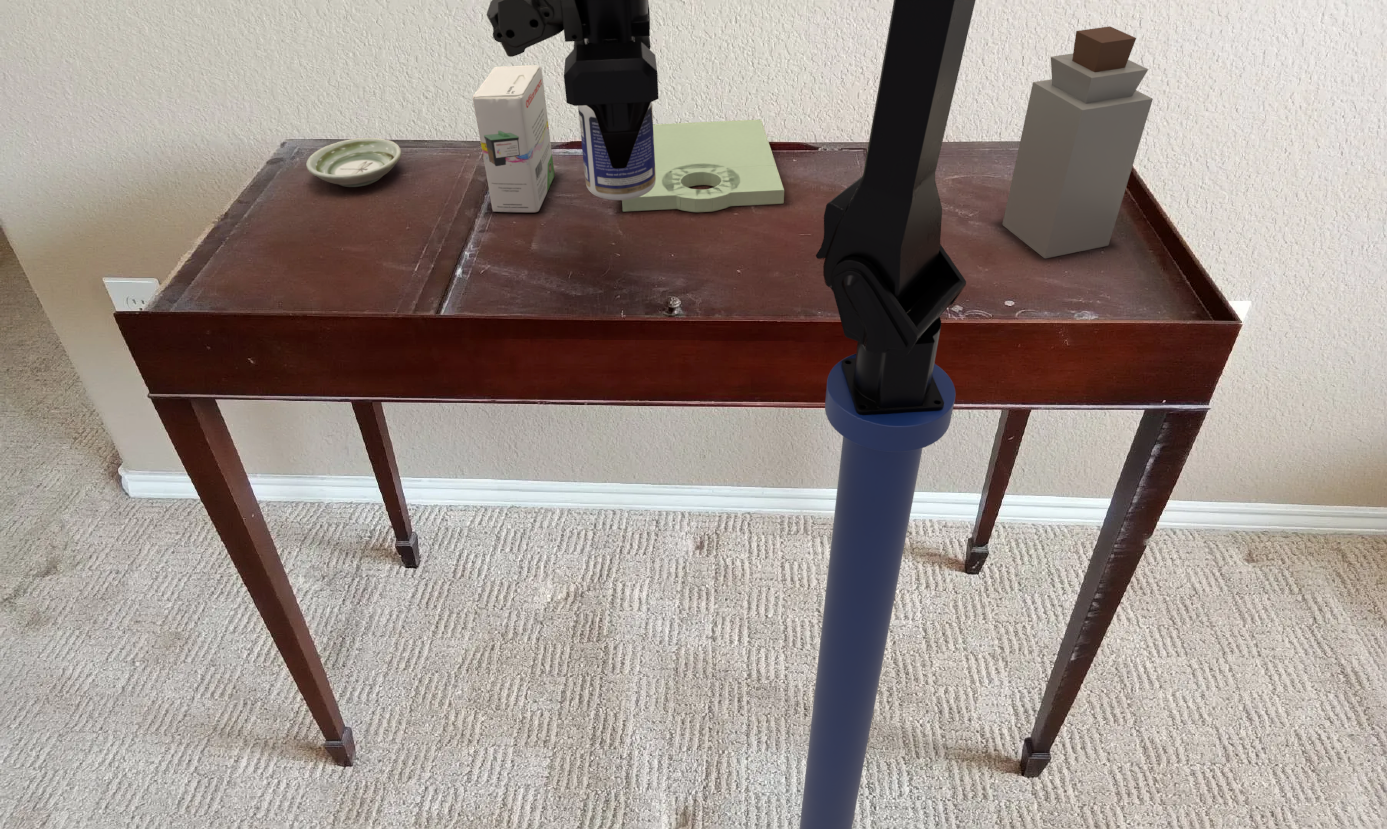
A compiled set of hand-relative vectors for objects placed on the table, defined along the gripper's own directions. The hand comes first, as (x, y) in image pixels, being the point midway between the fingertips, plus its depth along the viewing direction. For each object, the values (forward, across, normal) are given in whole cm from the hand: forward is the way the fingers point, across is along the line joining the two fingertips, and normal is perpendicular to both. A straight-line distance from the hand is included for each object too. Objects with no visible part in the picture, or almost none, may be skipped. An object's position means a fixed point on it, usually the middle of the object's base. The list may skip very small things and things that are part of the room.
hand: (618, 151), depth 73 cm
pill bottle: (+3, 0, 0) cm, 3 cm away
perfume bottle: (+12, -4, +40) cm, 42 cm away
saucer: (+12, -24, -28) cm, 39 cm away
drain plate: (+12, -22, +8) cm, 26 cm away
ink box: (+12, -18, -10) cm, 24 cm away
